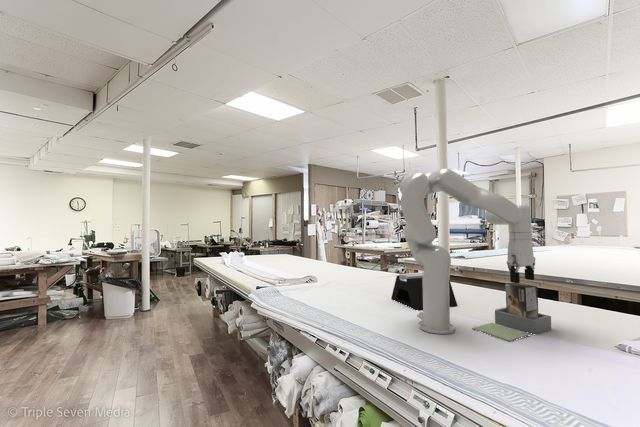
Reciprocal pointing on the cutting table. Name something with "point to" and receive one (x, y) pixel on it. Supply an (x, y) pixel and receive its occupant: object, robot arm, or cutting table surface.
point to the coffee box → (522, 300)
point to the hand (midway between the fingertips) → (522, 281)
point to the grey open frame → (523, 322)
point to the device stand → (414, 291)
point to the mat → (501, 332)
